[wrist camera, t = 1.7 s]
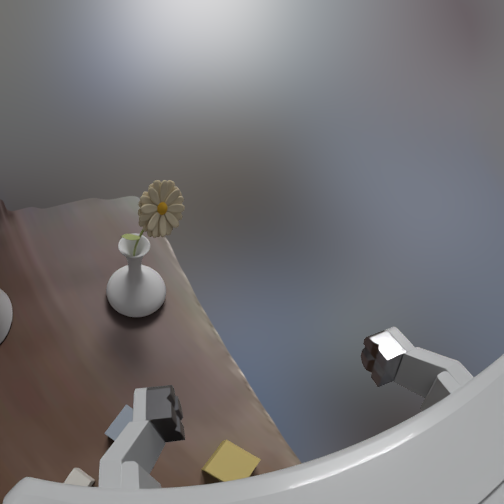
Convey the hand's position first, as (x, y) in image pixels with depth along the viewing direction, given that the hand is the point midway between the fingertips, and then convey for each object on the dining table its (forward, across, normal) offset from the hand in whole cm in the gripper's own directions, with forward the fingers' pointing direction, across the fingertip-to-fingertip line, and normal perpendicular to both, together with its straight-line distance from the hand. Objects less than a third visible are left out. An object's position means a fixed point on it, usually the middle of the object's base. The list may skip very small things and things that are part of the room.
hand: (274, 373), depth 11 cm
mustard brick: (+11, +6, +35) cm, 38 cm away
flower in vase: (+40, +15, +19) cm, 47 cm away
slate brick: (+17, +20, +28) cm, 38 cm away
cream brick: (+6, +28, +30) cm, 42 cm away
